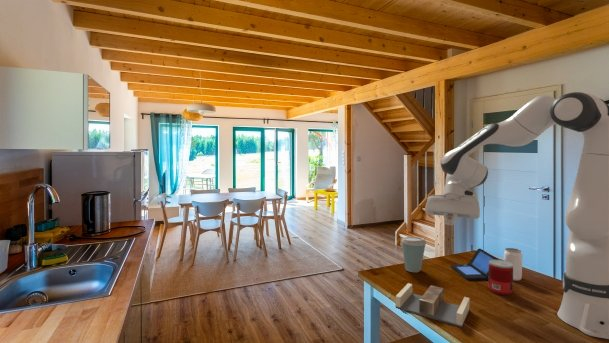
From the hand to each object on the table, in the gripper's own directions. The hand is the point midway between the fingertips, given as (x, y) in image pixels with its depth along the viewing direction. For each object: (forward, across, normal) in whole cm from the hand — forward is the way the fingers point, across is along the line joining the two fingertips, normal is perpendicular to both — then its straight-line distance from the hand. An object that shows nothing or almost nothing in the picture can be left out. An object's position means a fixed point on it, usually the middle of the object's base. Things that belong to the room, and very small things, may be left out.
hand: (449, 224), depth 123 cm
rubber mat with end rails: (+34, -1, +1) cm, 34 cm away
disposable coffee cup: (+12, -17, +24) cm, 32 cm away
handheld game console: (+5, +6, +33) cm, 33 cm away
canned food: (+14, +17, +23) cm, 32 cm away
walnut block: (+26, -1, +5) cm, 26 cm away
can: (+2, +20, +35) cm, 41 cm away
